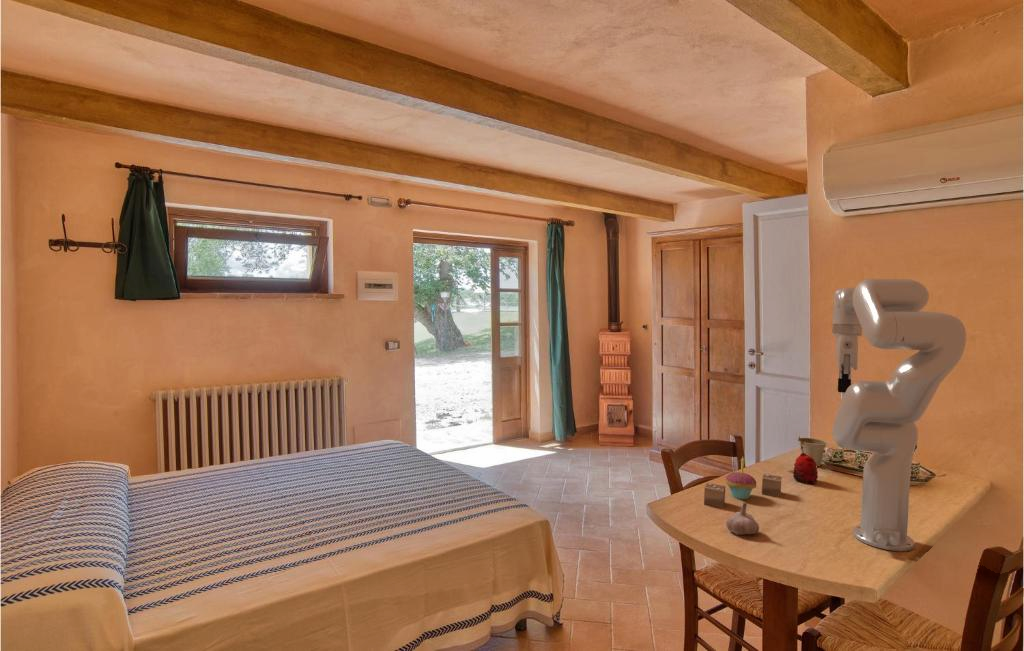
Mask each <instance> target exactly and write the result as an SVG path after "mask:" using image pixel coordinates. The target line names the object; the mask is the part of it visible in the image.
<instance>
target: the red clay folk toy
mask: <svg viewBox="0 0 1024 651" xmlns="http://www.w3.org/2000/svg"><path fill="white" fill-rule="evenodd" d="M798 438H800V440H797V442H798V441H801V449H802V453H801V454H800V455H799V456H797V458H796V459H795V462H794V466H793V475H792V477H793V478H794V480H796V481H797V482H800V483H802V482H803V484H807V485H808V484H810V485H811V484H812V485H814V484H816V483H817V482H818V476H819V475H818V474H819V473H818V472H819V471H818V467H816V462H815V461H814V459H813V458H812V457H811V456H809V455H806V454H805V453H803V446H802V444H803V445H804V442H802V439H803V438H804V437H800V435H799V436H798ZM801 438H802V439H801Z"/></svg>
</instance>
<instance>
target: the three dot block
mask: <svg viewBox="0 0 1024 651" xmlns="http://www.w3.org/2000/svg"><path fill="white" fill-rule="evenodd" d="M703 494H704V496H703V498H704V499H703V505H704V506H710V507H713V508H720V509H723V508H724V505H725V503H726V485H724V484H723V485H722V484H716V483H712V482H706V485H705V486H704V492H703Z"/></svg>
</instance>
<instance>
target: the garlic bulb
mask: <svg viewBox="0 0 1024 651" xmlns="http://www.w3.org/2000/svg"><path fill="white" fill-rule="evenodd" d="M747 505H748V503H747V502H745V501H744V502H743V503H742V507H741V509H740V511H737V512H735V513H734V514H732V515H730V516H729V517H728V518H727V520H726V522H725V525H726V528H727V530H728V531H730V532H731V533H734V534H735V535H738V536H742V535H743V536H744V535H755V534H757V533H758V532H759V530H760V526H759V523H758V521H756V519H755V517H753V516H752V514H750V513H748V512H746V511H747V510H746V509H747Z"/></svg>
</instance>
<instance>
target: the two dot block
mask: <svg viewBox="0 0 1024 651" xmlns="http://www.w3.org/2000/svg"><path fill="white" fill-rule="evenodd" d="M781 494H782V476H780V475H773V474H768V473H763V475H762V482H761V495H764V496H768V497H769V496H770V497H777V498H781Z"/></svg>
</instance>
